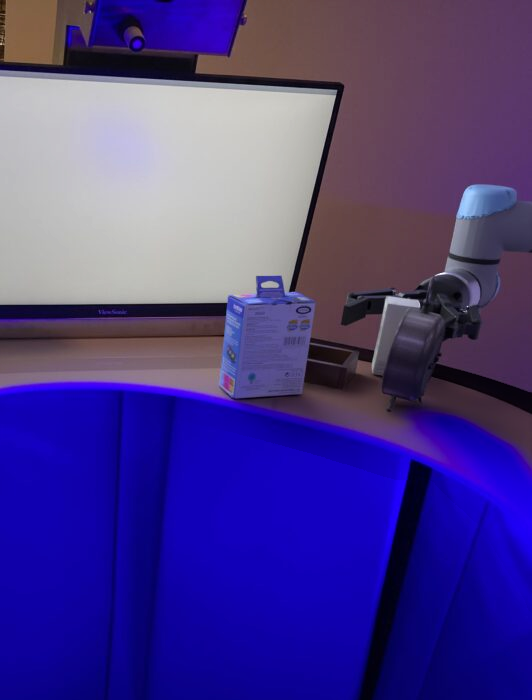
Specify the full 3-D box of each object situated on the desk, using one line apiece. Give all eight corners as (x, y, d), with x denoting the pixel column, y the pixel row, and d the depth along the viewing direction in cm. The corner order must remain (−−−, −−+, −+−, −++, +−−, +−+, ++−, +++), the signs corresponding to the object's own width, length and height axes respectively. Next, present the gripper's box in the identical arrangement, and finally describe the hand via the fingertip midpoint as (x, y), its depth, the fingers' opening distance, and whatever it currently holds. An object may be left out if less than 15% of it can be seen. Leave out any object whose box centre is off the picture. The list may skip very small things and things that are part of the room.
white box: (404, 379, 115) (420, 307, 111) (371, 375, 116) (386, 303, 112) (403, 368, 120) (419, 298, 116) (371, 363, 121) (385, 294, 117)
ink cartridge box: (283, 380, 113) (300, 272, 107) (304, 395, 108) (323, 283, 102) (215, 384, 110) (228, 274, 104) (233, 400, 105) (249, 285, 99)
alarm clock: (392, 387, 112) (418, 265, 105) (434, 396, 110) (464, 272, 103) (372, 412, 104) (399, 281, 97) (418, 423, 101) (449, 289, 94)
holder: (355, 372, 117) (359, 351, 116) (343, 389, 111) (347, 367, 109) (297, 360, 121) (300, 340, 119) (281, 377, 114) (284, 355, 113)
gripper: (521, 340, 122) (472, 375, 107) (365, 306, 136) (301, 332, 121) (536, 289, 119) (487, 317, 104) (374, 259, 133) (310, 280, 118)
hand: (387, 325), depth 112 cm, fingers open, 11 cm apart
